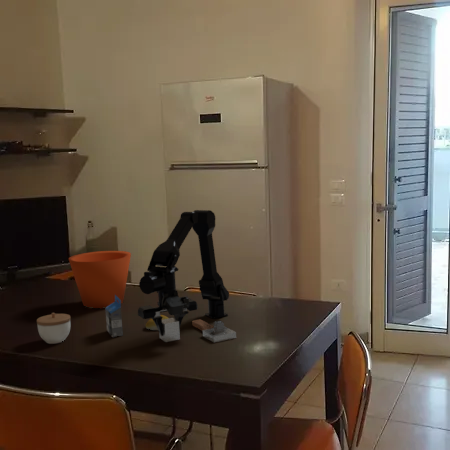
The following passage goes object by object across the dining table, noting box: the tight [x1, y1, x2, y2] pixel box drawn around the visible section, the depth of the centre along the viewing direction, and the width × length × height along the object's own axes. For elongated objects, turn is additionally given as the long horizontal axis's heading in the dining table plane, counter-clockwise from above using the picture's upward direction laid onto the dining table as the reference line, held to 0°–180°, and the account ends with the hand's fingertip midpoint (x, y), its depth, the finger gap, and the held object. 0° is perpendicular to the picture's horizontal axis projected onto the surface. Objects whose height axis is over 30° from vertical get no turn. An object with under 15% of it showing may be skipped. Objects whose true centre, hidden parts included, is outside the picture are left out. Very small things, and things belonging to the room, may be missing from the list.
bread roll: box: [145, 314, 170, 331], centre depth 204 cm, size 8×9×4 cm
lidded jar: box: [36, 312, 72, 345], centre depth 193 cm, size 11×11×9 cm
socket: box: [159, 317, 181, 343], centre depth 190 cm, size 5×5×6 cm
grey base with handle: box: [191, 318, 237, 343], centre depth 195 cm, size 21×8×5 cm, turn 29°
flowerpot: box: [68, 250, 132, 309], centre depth 239 cm, size 25×25×20 cm
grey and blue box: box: [104, 295, 124, 338], centre depth 198 cm, size 9×4×12 cm, turn 23°
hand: (169, 334), depth 190 cm, fingers closed on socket, 5 cm apart
